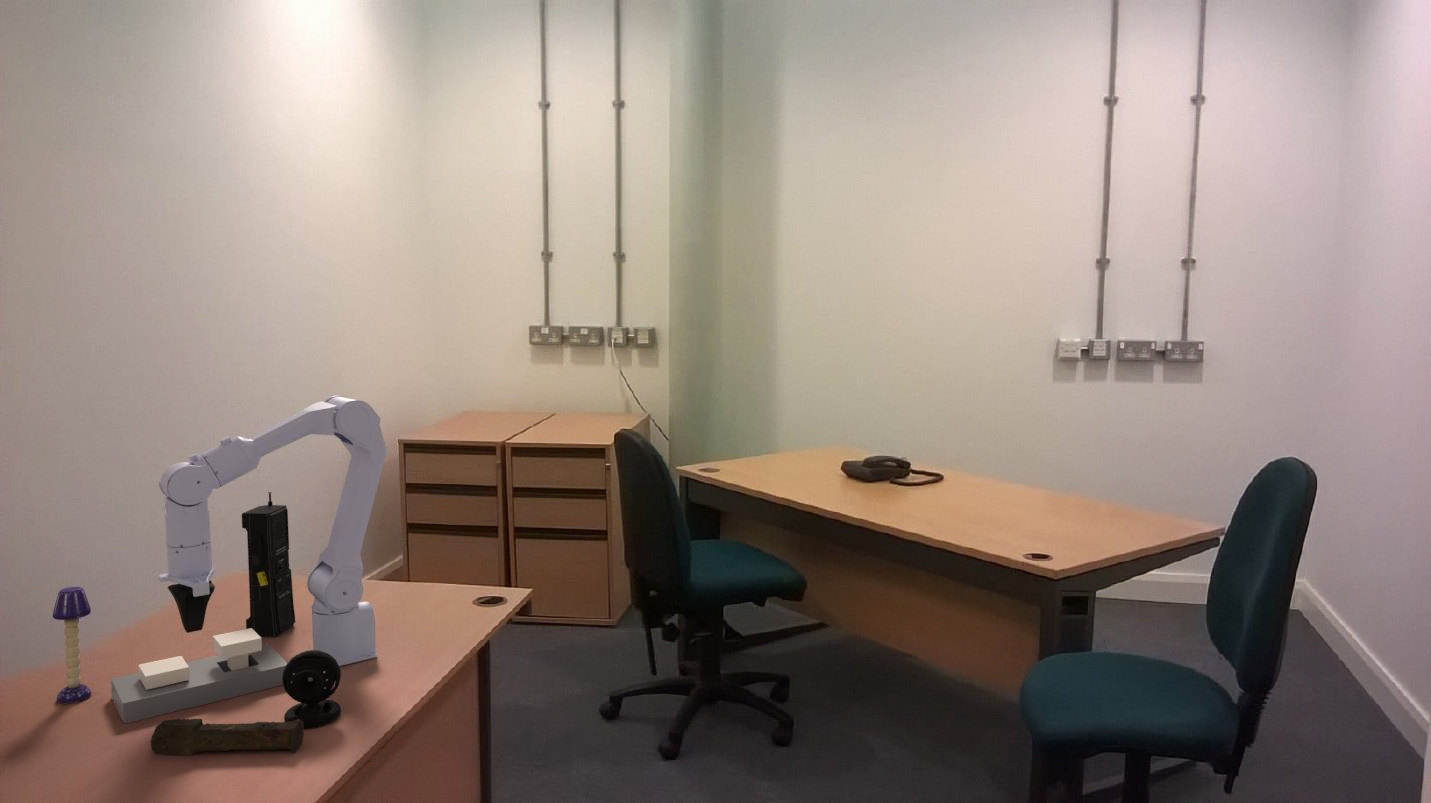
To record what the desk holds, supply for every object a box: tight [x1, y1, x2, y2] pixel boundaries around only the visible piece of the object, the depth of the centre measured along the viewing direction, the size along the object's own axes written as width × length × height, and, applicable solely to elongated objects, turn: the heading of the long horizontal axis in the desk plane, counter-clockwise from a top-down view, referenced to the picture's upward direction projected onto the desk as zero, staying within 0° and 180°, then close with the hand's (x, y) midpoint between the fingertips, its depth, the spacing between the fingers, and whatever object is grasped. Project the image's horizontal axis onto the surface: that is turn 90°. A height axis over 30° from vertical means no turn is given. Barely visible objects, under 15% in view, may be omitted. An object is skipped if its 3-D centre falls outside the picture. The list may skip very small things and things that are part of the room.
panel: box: [110, 644, 288, 725], centre depth 138 cm, size 22×11×3 cm, turn 131°
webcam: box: [282, 649, 342, 730], centre depth 129 cm, size 8×8×10 cm
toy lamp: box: [52, 586, 92, 704], centre depth 134 cm, size 5×5×17 cm
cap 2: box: [212, 628, 263, 671], centre depth 141 cm, size 6×6×5 cm
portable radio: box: [241, 491, 297, 638], centre depth 161 cm, size 8×6×25 cm
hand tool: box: [150, 718, 305, 757], centre depth 120 cm, size 19×4×5 cm, turn 94°
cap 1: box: [138, 655, 190, 690], centre depth 134 cm, size 6×6×5 cm
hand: (193, 630), depth 136 cm, fingers closed
